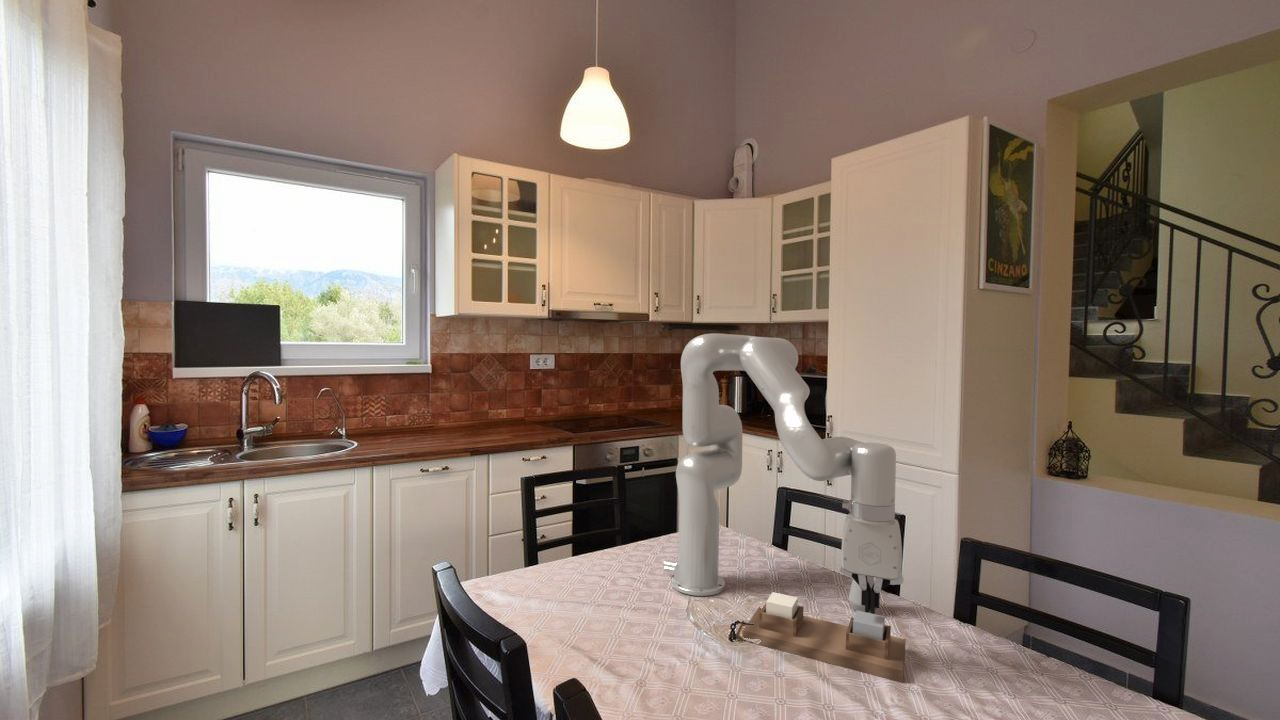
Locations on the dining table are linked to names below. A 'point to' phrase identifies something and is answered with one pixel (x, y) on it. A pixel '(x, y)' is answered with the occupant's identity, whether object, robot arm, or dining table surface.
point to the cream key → (782, 605)
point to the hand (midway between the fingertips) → (870, 610)
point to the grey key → (869, 625)
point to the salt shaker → (858, 595)
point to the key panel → (829, 643)
